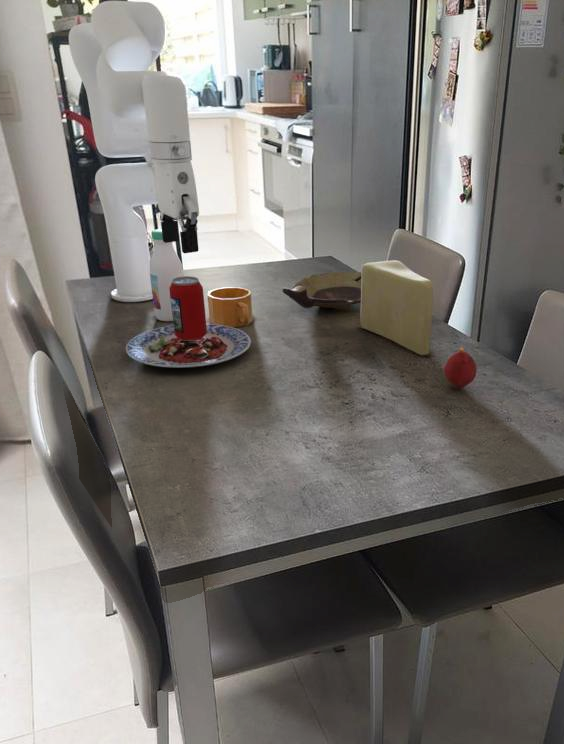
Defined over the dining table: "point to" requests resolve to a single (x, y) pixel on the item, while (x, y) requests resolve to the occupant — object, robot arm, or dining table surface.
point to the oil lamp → (327, 290)
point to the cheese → (397, 304)
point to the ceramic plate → (188, 347)
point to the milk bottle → (163, 275)
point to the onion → (460, 369)
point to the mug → (230, 306)
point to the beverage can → (188, 308)
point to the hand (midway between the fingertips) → (180, 246)
